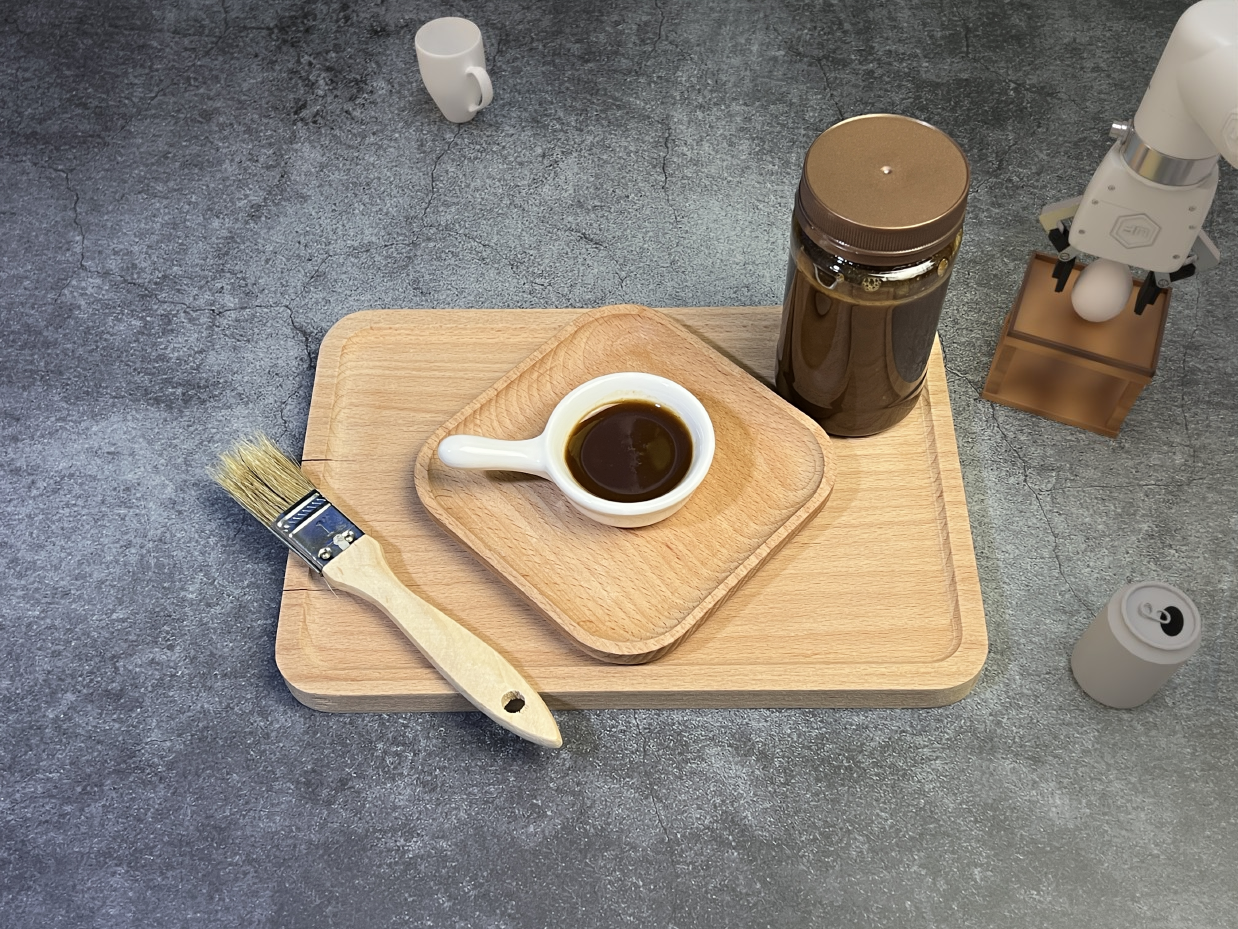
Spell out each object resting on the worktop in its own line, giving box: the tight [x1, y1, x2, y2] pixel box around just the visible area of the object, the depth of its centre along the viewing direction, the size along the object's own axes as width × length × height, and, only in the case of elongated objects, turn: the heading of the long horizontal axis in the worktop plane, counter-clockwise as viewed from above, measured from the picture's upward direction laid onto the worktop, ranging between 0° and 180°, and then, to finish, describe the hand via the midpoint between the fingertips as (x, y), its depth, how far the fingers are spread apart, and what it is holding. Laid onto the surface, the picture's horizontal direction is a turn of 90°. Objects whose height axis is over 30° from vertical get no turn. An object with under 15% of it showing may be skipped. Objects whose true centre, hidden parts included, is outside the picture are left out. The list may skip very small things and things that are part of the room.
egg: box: [1071, 257, 1133, 322], centre depth 107 cm, size 5×5×7 cm
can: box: [1070, 580, 1203, 710], centre depth 94 cm, size 8×8×12 cm
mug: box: [414, 16, 494, 124], centre depth 139 cm, size 12×8×11 cm
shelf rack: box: [980, 249, 1174, 440], centre depth 114 cm, size 14×12×11 cm
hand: (1099, 292), depth 107 cm, fingers open, 7 cm apart
